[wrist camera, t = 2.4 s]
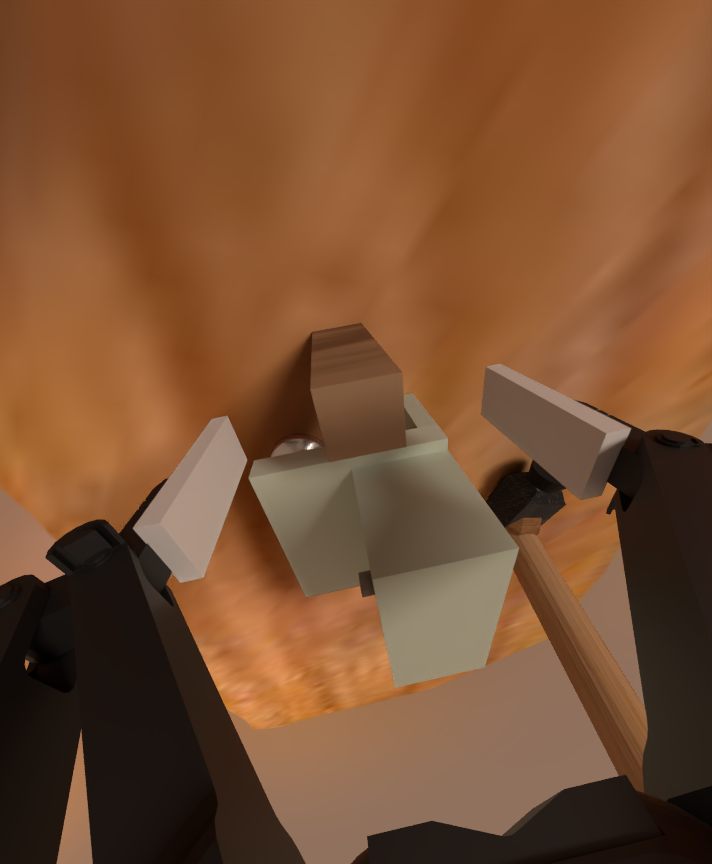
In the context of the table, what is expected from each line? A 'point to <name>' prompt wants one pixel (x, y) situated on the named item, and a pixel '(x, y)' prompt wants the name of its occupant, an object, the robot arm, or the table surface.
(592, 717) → the hammer
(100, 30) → the table surface
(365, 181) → the table surface
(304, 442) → the chrome dome knob
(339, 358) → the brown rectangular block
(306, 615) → the table surface
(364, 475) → the plinth shelf
